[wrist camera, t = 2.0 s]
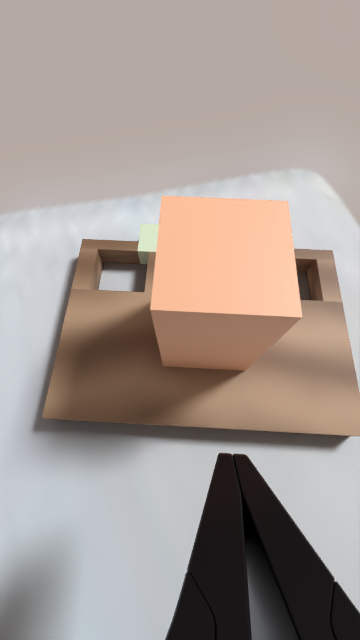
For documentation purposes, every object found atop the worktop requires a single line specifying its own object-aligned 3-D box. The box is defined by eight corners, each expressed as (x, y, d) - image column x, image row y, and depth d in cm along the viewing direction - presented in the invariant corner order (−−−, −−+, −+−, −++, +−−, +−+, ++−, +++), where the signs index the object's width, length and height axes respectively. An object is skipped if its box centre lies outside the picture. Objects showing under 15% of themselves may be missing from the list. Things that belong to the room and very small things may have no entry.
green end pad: (268, 270, 26) (275, 257, 24) (140, 264, 26) (137, 251, 24) (266, 243, 27) (273, 229, 25) (143, 238, 27) (141, 223, 25)
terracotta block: (245, 370, 20) (302, 317, 11) (163, 366, 20) (150, 309, 11) (242, 297, 22) (287, 201, 13) (168, 293, 22) (162, 195, 13)
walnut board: (350, 436, 20) (367, 436, 18) (53, 419, 21) (41, 418, 19) (321, 263, 26) (332, 250, 24) (89, 252, 26) (82, 239, 24)
